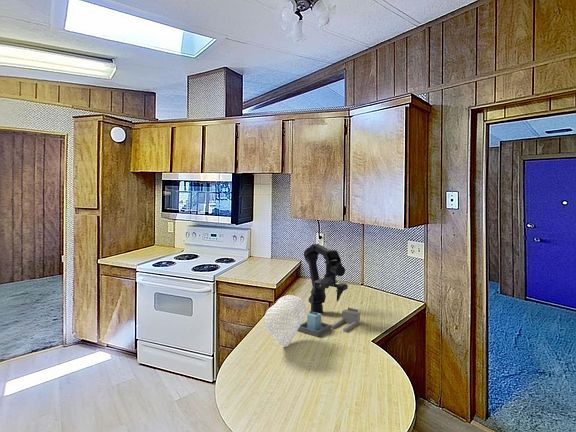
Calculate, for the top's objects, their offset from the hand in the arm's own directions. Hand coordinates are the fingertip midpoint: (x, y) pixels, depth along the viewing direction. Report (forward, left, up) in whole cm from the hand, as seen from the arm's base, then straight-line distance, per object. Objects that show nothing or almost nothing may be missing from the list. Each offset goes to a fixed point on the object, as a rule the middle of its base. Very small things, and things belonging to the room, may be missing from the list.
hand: (330, 299), depth 195 cm
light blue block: (0, -17, -12) cm, 21 cm away
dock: (+10, 0, -12) cm, 16 cm away
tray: (0, -17, -12) cm, 21 cm away
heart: (0, -42, -13) cm, 44 cm away
